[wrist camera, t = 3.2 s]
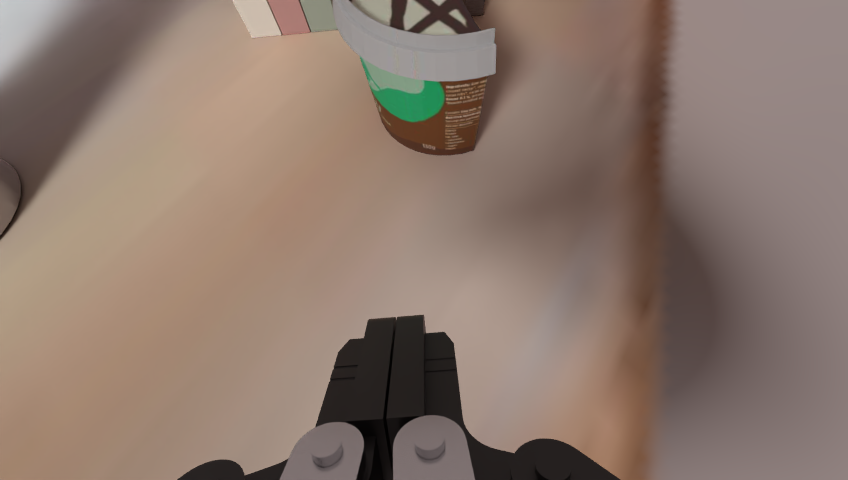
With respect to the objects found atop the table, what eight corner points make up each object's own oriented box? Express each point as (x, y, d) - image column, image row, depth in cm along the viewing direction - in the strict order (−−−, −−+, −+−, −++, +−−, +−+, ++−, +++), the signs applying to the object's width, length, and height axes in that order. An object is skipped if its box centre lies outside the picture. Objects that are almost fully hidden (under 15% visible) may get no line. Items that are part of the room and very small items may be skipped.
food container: (342, 66, 31) (296, -83, 21) (418, 42, 31) (405, -113, 22) (393, 198, 26) (363, 80, 17) (482, 167, 26) (500, 36, 17)
